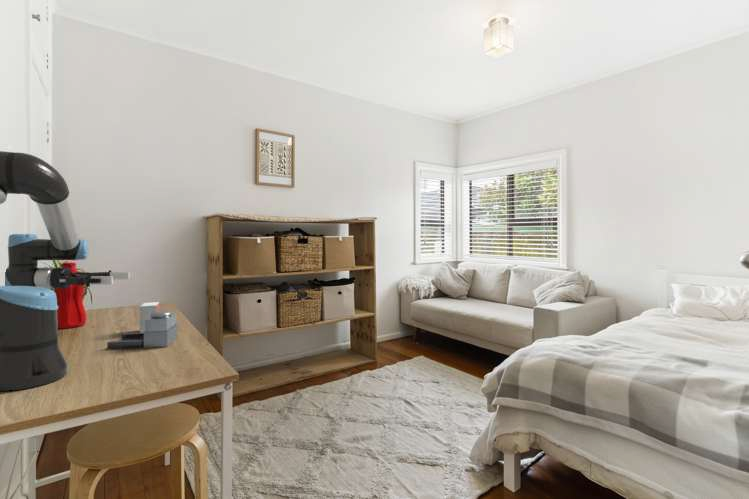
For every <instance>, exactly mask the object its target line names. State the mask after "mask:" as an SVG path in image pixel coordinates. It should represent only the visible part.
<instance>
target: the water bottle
mask: <svg viewBox="0 0 749 499" xmlns="http://www.w3.org/2000/svg"><path fill="white" fill-rule="evenodd" d="M61 268H69V269H70V270H71V272H72V273H75V272H80V271H78V270H77V262H74V261H73V262H72V261H69V262H63V263H61ZM85 287H86V284H85V285H83V286H82V285H70V287H68V288H66V289H55V288H53V289H54V290H53V291H54V292H55V293H56V297H57V305H58V309H57V319H58V329H63V330H64V329H70V328H71V329H72V328H76V327H77V328H78V327H82V326H84V325H85V324H87V313H86V310H85V306H84V303H83V294H84V290H85Z"/></svg>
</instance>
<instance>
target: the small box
mask: <svg viewBox="0 0 749 499" xmlns="http://www.w3.org/2000/svg"><path fill="white" fill-rule="evenodd" d="M158 311H161V303H160V301H154V302H143V303H142V304H141V305H139V333H144V332H145V320H146V319H147V318H149V317H151V313H153V312H158Z"/></svg>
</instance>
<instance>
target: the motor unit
mask: <svg viewBox="0 0 749 499" xmlns="http://www.w3.org/2000/svg"><path fill="white" fill-rule="evenodd" d="M178 326H179V325H178V323H177V312H172V311H170V310H160V311H158V312H153V313H151V317H149V318H147V319H146V320H145V332H144V333H140V332H131V333H130V332H128V333H126V332H125V333H121V337H120V338H118V339H117V340H115V341H108V342H107V343H106V344H107V347H106V348H107V350H122V349H123V350H125V349H142V348H144V349H147V348H150V349H151V348H168V347H169V346H170V345H171V344H172V343H174V342H175V341H176V340H177V339H179V332H178V329H179V327H178ZM175 339H176V340H175Z"/></svg>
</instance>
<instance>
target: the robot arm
mask: <svg viewBox="0 0 749 499" xmlns="http://www.w3.org/2000/svg"><path fill="white" fill-rule="evenodd" d="M8 194H9V195H10V194H12V195H14V194H15V195H27V196H29V198H30V200H31V201H33V202H34V203H36V205H37V207H38V211H39V212H40V215H41V218H42V220H43V223H44V226H45V227H46V231H47V233H48V235H49V238H50V239H49V238H47V239H46V238H43V239H41V238H38V235H37V234H35V233H11V234H9V236H8V240H7V241H8V242H7V253H8V266H7V267H6V268H7V269H6V272H5V286H1V285H0V392H10V391H9V390H13V391H19V390H24V389H25V390H26V389H31V388H36V387H39V386H45V385H47V384H50V383H53V382H55V381H58V380H60V379H62V378H64V377H65V376H66V375H67V374H68V364H67V362H66V359H65V357H64V356H63V353H62V351H61V349H60V346H59V341H58V340H59V338H58V336H59V331H58V329H59V328H58V319H57V309H58V305H57V296H56V293H55V290H53V289H54V288H55V289H66V288H68V287H70V285H82V286H83V285H85V287H86V288H90V286H91V285H94V286H95V285H114V280H130V271H129V272H127V271H116V272H115V271H113V272H112V270H108V271H100V272H99V271H96V272H88V271H87V272H81V271H79V272H75V273H72V272H71V270H70V269H69V268H62V267H38V262H39V261H80V260H86V259H87V258H88V256H89V242H88V240H85V239H81V238H79V236H78V233H77V228H76V225H75V222H74V219H73V215H72V211H71V208H70V205H69V202H68V201H69V200H68V198H69V196H70V190H69V186H68V183H67V181H66V180H65V178H64V177H63V175H61V173H60V172H59V171H58V170H57V169H55V167H53V166H52V165H51V164H49V163H48V162H46V161H45V160H44V159H41V158H40V157H37V156H35V155H32V154H29V153H24V152H13V151H2V150H1V151H0V205H3V203H5V202H6V201H7V198H8Z"/></svg>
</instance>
